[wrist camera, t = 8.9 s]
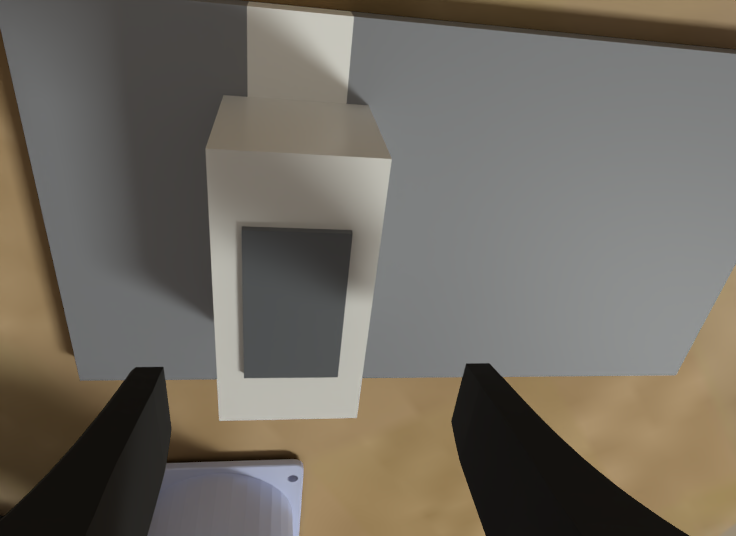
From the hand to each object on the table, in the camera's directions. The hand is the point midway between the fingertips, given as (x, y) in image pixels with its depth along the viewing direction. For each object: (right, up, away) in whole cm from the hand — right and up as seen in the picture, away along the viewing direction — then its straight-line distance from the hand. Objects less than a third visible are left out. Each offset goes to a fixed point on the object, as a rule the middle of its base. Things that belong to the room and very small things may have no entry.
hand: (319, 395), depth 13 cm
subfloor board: (+3, +5, +8) cm, 10 cm away
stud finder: (-1, +4, +6) cm, 8 cm away
